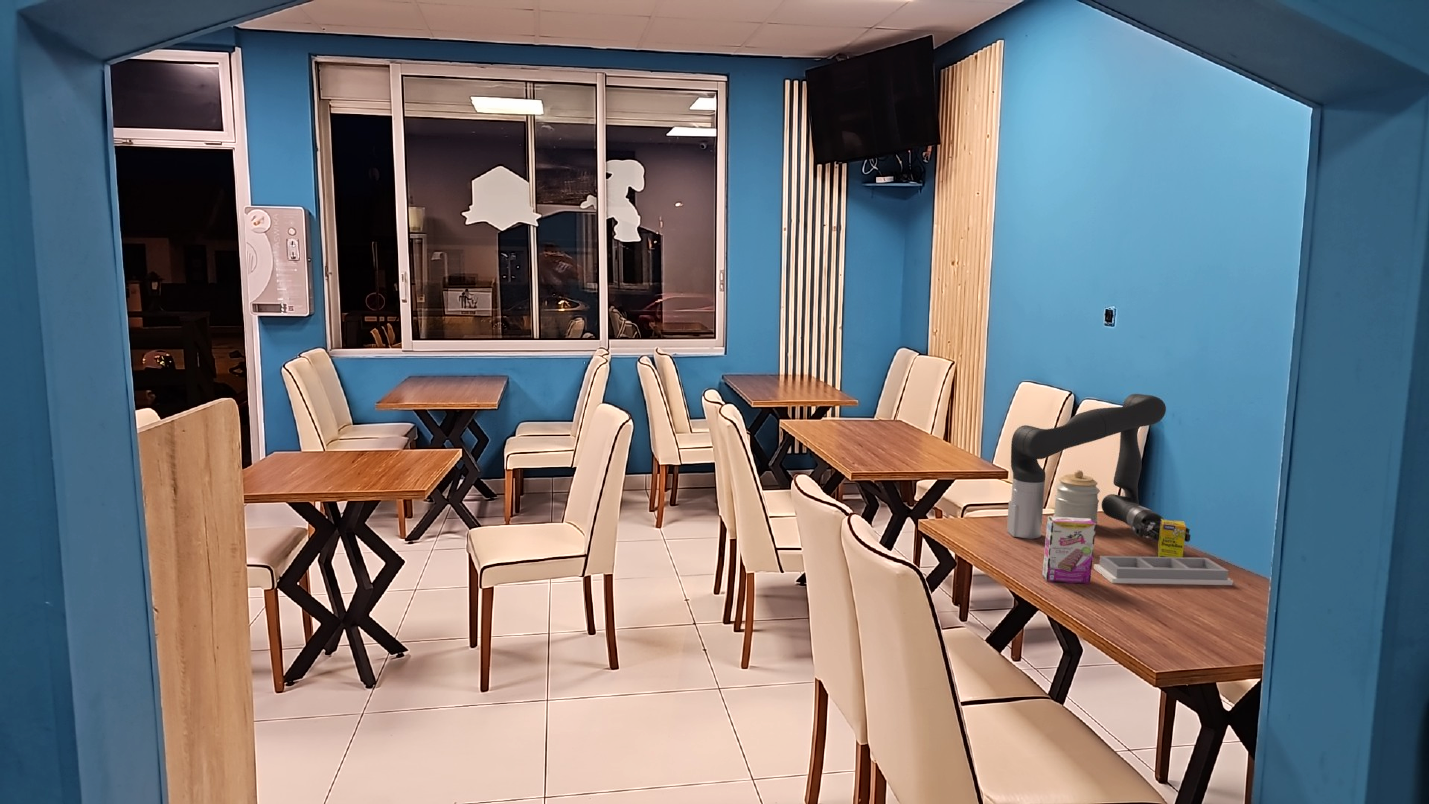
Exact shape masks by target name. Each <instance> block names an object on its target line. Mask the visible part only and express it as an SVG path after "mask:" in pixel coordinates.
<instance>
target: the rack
mask: <svg viewBox="0 0 1429 804" xmlns="http://www.w3.org/2000/svg"><path fill="white" fill-rule="evenodd" d="M1093 569H1094V570H1095V571H1096V572H1098V573H1099V574H1100V575H1101V574H1102V575H1101V576H1103V577H1104V578H1105V579H1106V580H1108V581H1109V582H1110V584H1111V583H1112V584H1141V585H1143V584H1147V585H1149V584H1151V585H1155V584H1156V585H1204V586H1205V585H1206V586H1207V585H1210V586H1213V585H1214V586H1215V585H1216V586H1233V583H1234V580H1233V579H1232V578H1230V577H1229V569H1226V568H1225V567H1224V566H1221V565H1219V564H1218V563H1216V562H1215V561H1213V560H1211V559H1210V558H1208V557H1193V556H1192V557H1190V556H1189V557H1184V556H1183V557H1158V556H1130V555H1129V556H1128V555H1127V556H1124V555H1123V556H1120V555H1119V556H1118V555H1100V556H1099V563H1097V564H1095V563H1094V564H1093Z"/></svg>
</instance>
